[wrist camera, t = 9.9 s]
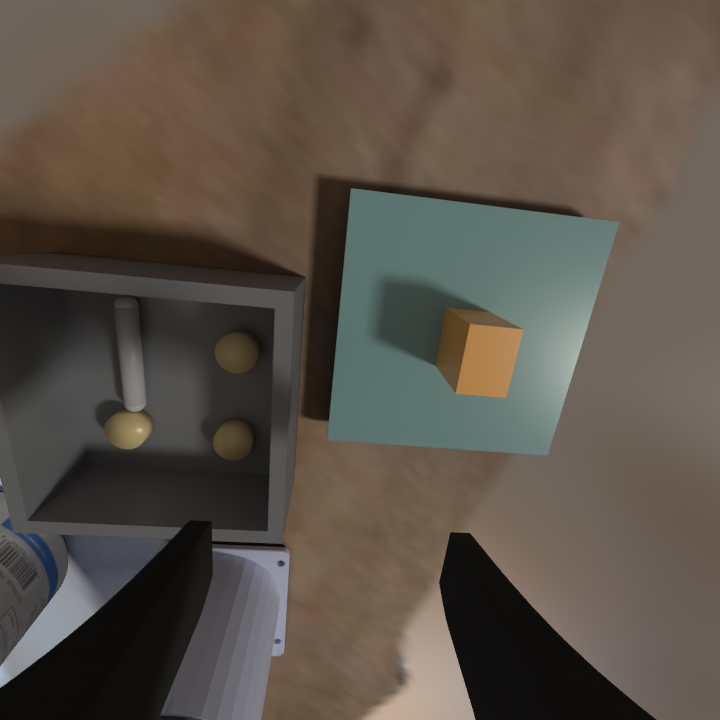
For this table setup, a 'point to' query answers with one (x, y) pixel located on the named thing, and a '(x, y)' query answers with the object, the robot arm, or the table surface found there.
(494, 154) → the table surface
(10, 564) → the supplement tub
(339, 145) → the table surface
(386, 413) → the lid
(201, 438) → the parts tub
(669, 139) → the table surface
